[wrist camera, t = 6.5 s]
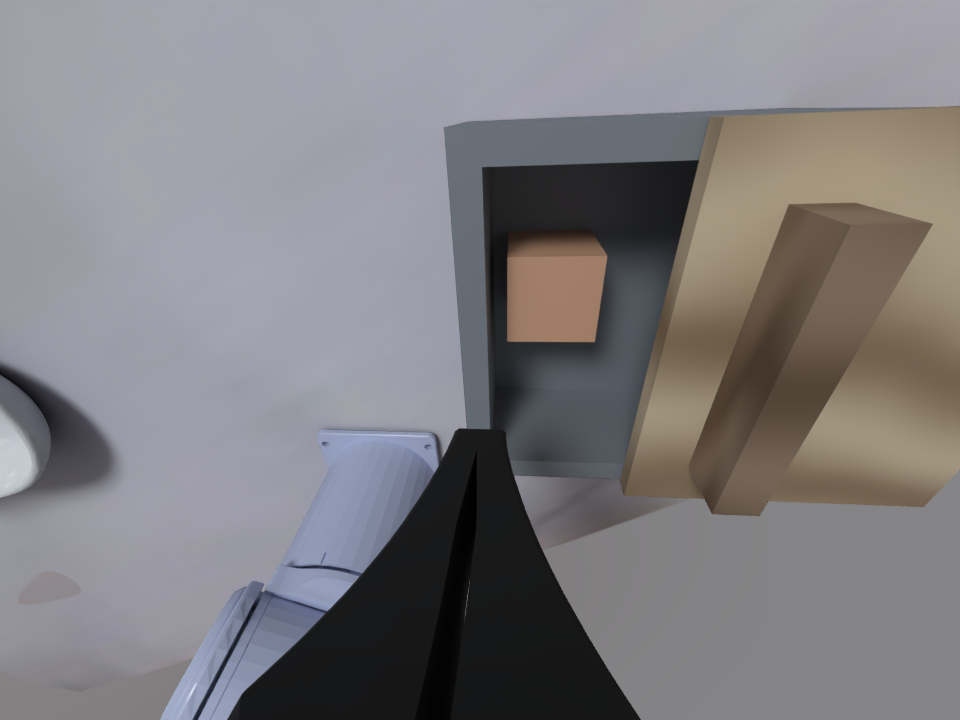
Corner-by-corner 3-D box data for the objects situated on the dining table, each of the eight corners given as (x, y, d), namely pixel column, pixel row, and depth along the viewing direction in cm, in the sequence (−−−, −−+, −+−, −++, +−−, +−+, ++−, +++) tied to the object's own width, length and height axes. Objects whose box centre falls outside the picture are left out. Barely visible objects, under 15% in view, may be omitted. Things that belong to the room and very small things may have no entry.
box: (686, 398, 22) (737, 483, 17) (479, 394, 23) (470, 473, 18) (782, 108, 14) (926, 107, 9) (466, 121, 15) (443, 127, 10)
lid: (906, 490, 16) (978, 559, 14) (620, 480, 17) (637, 543, 15) (1259, 93, 9) (1559, 86, 6) (710, 116, 10) (778, 118, 7)
